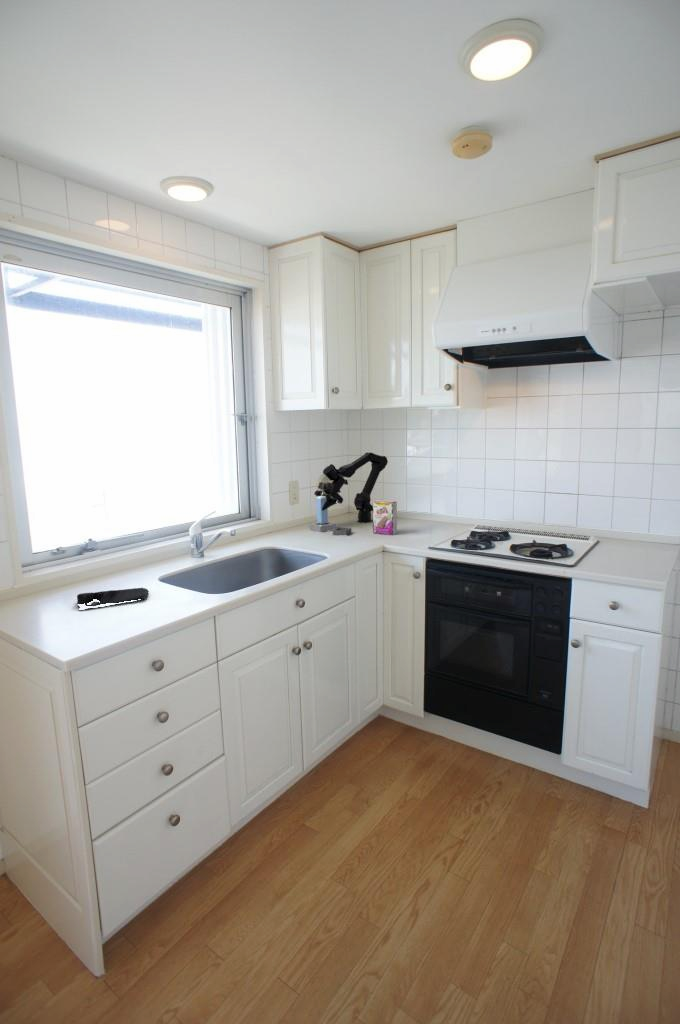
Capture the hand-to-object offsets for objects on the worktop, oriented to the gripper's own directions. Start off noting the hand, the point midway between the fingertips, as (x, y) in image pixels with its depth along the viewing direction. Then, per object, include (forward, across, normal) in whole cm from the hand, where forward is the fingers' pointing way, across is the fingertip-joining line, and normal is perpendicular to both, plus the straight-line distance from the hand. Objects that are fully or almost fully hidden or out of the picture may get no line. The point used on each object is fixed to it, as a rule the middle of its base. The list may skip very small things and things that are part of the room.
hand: (319, 509), depth 278 cm
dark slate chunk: (+89, +40, -74) cm, 122 cm away
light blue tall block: (+4, 0, +6) cm, 7 cm away
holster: (+7, +16, +9) cm, 19 cm away
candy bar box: (-4, +31, +20) cm, 37 cm away
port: (+7, 0, +8) cm, 11 cm away
